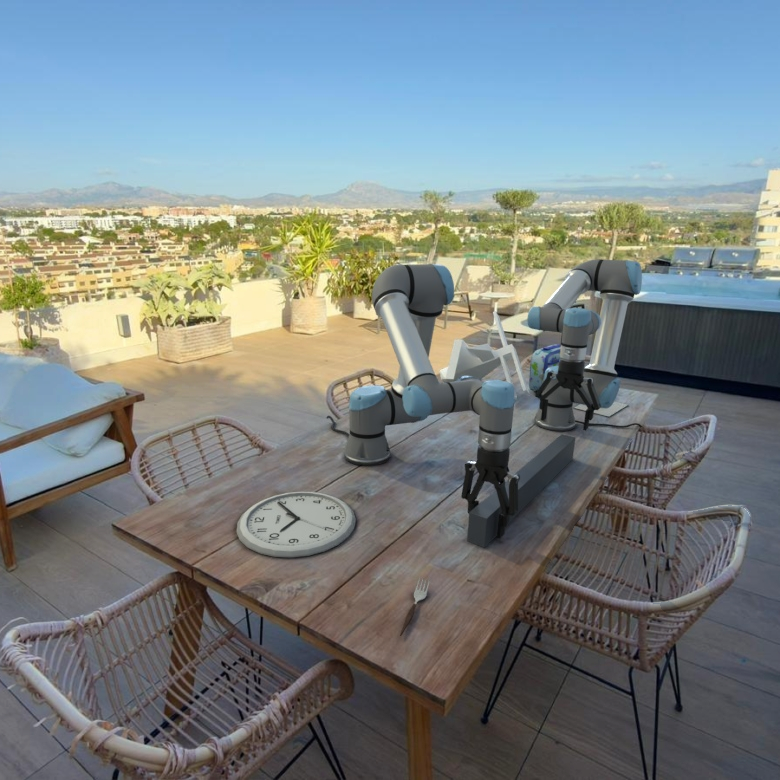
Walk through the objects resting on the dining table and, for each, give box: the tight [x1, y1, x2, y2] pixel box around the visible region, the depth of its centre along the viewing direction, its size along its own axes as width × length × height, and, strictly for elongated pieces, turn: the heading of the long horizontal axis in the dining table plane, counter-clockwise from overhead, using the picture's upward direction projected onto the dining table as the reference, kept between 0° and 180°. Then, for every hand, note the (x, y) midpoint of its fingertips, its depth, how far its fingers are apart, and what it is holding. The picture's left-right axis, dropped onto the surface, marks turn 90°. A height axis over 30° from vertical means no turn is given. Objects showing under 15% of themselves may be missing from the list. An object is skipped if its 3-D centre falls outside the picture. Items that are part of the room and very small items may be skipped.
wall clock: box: [236, 491, 357, 558], centre depth 134 cm, size 30×2×30 cm
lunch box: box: [528, 344, 561, 392], centre depth 247 cm, size 26×11×21 cm, turn 134°
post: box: [466, 433, 576, 548], centre depth 150 cm, size 64×5×8 cm, turn 143°
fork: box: [399, 577, 431, 637], centre depth 104 cm, size 3×16×2 cm, turn 160°
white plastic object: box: [438, 310, 531, 400], centre depth 245 cm, size 37×45×31 cm
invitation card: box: [573, 401, 629, 418], centre depth 226 cm, size 21×1×15 cm
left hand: (486, 530), depth 130 cm, fingers open, 7 cm apart
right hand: (564, 424), depth 167 cm, fingers open, 13 cm apart
